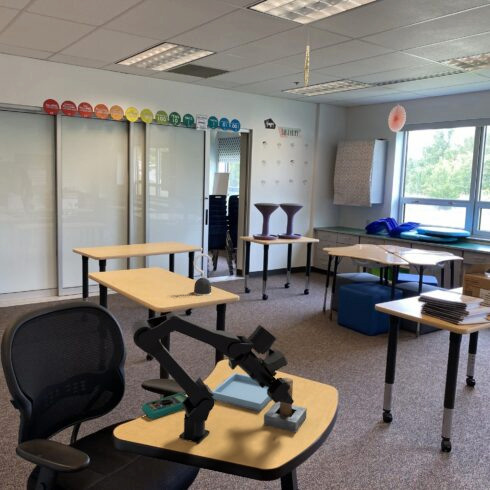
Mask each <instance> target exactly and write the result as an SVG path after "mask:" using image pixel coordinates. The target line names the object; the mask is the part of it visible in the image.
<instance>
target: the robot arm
mask: <svg viewBox="0 0 490 490" xmlns="http://www.w3.org/2000/svg"><path fill="white" fill-rule="evenodd" d="M173 332H178V333H179V334H182V335H185V336H187V337H190V338H192V339H194V340H197V341H198V342H199V341H200V342H201V343H204V344H207V345H209V346H212V347H213V348H214V349H215V350H217V351H218V352H219V353H221V354H223V355H224V356H226V357H227V358H228V363H227V364H228V366H229V368H230V369H231V370H235V368H237V367H239V368H240V369H241V370H242V371H243V372H245V373H246V375H248V376H250V377H251V378H252V379H253V380H255V381H256V382H257V383H258V384H259V385H260V386H261V387H262V388H263V387H264V386H266V387H269V388H268V389H267V395H268V396H269V397H270V398H271V399H272V400H271V401H273V402H274V403H277V402H283V403H288V404H292V405H294V402H295V401H294V399H293V396H292V397H291V396H290V394H289V393H288V390H289V389H290V385H289V384H288V383H287V382H286V381H284V380H283V379H282V378H283V377H277V378H276V375H277V374H278V372H276V371H278V370H280V369H283V368H284V367H287V365H288V364H289V363H288V360H287V358H286V355H285V354H284V353H283V352H282V351H281V350H277V349H275V350H274V349H273V348H271V347H272V346H273V345H274V344H275V343H276V341H278V339H277V338H276V337H275V336H274V335H273V334H272V333H271V332H269V331H268V330H267V329H266V328H265V327H263V326H262V325H261V324H259V325H258V326H256V328H255V330H254V331H253V332H252V333H251V334H250V335H249V337H247V336H245V335H237V334H235V333H233V332H230V331H225V330H217V329H211V328H210V327H207V326H204V325H203V324H199V323H197V322H195V321H193V320H190V319H188V318H185V317H183V316H181V315H179V314H177V313H175V312H169V313H166V314H164V315H160V316H156V317H151V318H149V319H145V320H143V319H140V320H137V321H136V322H134V323H133V324H132V325H131V326H130V335H131V337H132V340H133V343H134V344H135V346H136V347H138V348H139V349H140V350H142V351H143V352H144V353H146V354H148V355H149V356H151V357H153V358H154V360H156V361H157V363H159V365H160V366H161V367H162V368H163V369H164V371H166V372H167V374H169V375H170V377H172V378H173V379H172V380H174V381H175V383H177V385H179V387H180V388H182V391H184V392H185V395H186V396H187V398H186V399H185V400H184V401H183V402H182V403H181V404H182V407H183V411H184V412H185V413H184V418H183V431H182V432H181V433H180V434H179V436H178V437H179V439H182V440H186V441H190V442H193V443H195V444H196V443H197V444H199V443H201V442H202V441H203V440H204V439H205V438H206V437H207V436H208V435H209V434H210V433H211V432H210V430H207V429H206V421H207V420H208V418H209V415H210V412H211V411H212V410H213V409H214V406H215V403H216V402H215V401H216V400H214V399H213V397H212V396H214V394H213V393H212V390H211V389H210V387H209V386H208V384H206V383H205V382H204V380H203V379H202V378H201V376H199V377H198V378H197V380H196V379H195V378H193V377H192V376H191V375H190V373H188V372H187V370H186V369H185V368H184V367H183V366H182V365H181V364H180V362H178V360H177V359H176V358H175V356H173V355H172V354H171V352H170V351H169V350H168V349H167V348H166V347H165V346H164V345H163V343H162V342H161V340H162V339H163V338H165V337H167V336H168V335H169V334H171V333H173ZM253 350H254V351H255V352H256V353H257V354H258V355H265V358H261V357H259V356H258V355H257V354H256V353H255V352H254V351H253Z"/></svg>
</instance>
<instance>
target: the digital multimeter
mask: <svg viewBox="0 0 490 490" xmlns="http://www.w3.org/2000/svg"><path fill="white" fill-rule="evenodd" d="M187 397H188V396H187V395H186V394H184V393H182V392H178V393H175V394H172V395H169V396H166V397H162V398H159V399H156V400H152V401H148V402H145V403H143V404H142V407H141V408H142V410H141V411H142V412H143V414H144V415H145V416H147V415H148V416H149V417H148V416H147V417H148V418H150V419H152V420H155V419H158V418H160V417H164V416H167V415H170V414H173V413H177V412H178V411H184V409H183V407H182V404H181V403H182V402H183V401H184V400H185V399H186V398H187Z"/></svg>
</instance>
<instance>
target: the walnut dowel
mask: <svg viewBox="0 0 490 490" xmlns="http://www.w3.org/2000/svg"><path fill="white" fill-rule="evenodd" d="M281 378H282V379H283V380H284V381H286V382H287V383H288V384H289V385H290V389H289V390H288V393H289V394H290V396H291V397H292V398H293V391H294V388H293V387H294V379H293V378H291V377H281ZM292 405H293V404H288V403H283V402H280V415H284V416H288V417H291V416H292Z"/></svg>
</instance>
